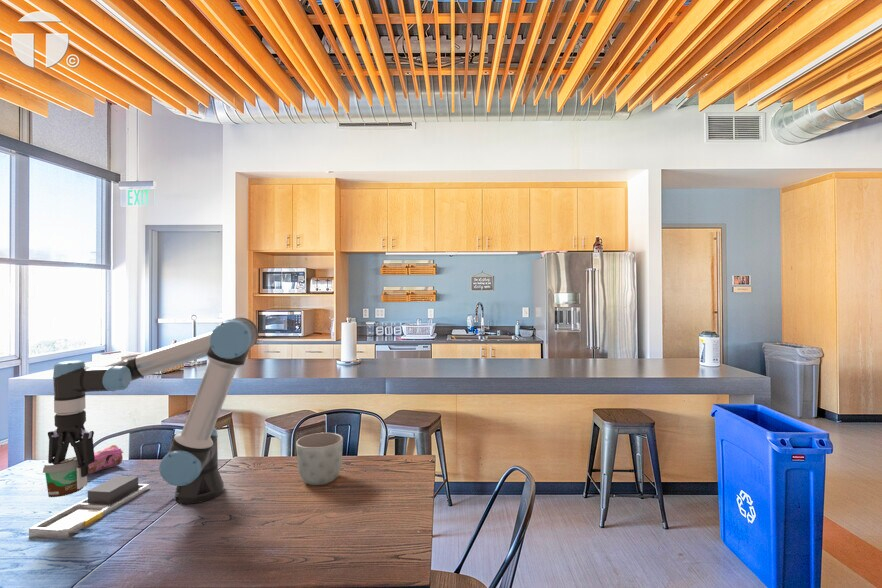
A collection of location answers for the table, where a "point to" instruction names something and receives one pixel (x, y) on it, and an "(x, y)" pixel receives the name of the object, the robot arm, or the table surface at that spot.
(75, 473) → the food container
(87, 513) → the rack
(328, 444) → the planter
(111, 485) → the grey rectangular box
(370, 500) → the table surface
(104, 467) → the pencil case
